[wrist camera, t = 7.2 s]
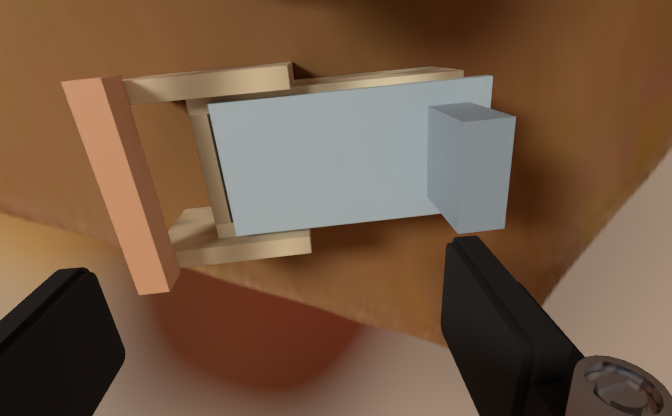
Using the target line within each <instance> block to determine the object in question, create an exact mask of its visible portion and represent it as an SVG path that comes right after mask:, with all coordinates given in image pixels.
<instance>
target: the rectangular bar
mask: <svg viewBox="0 0 672 416" xmlns="http://www.w3.org/2000/svg"><path fill="white" fill-rule="evenodd" d="M61 83H62V86H63V89H64V92H65V94H66V97H67V100H68V103H69V105H70V108H71V111H72V113H73V116H74V119H75V122H76V124H77V127H78V130H79V133H80V135H81V138H82V141H83V144H84V146H85V149H86V152H87V154H88V157H89V160H90V163H91V165H92V168H93V171H94V174H95V176H96V179H97V182H98V185H99V187H100V190H101V193H102V195H103V198H104V201H105V204H106V206H107V209H108V212H109V215H110V217H111V220H112V223H113V226H114V228H115V231H116V234H117V236H118V239H119V242H120V245H121V247H122V250H123V253H124V256H125V258H126V261H127V263H128V266H129V269H130V272H131V275H132V277H133V280H134V283H135V286H136V288H137V291H138V294H139V295H144V294H153V293H161V292H170V290H171V288H172V287H173V285H174V283H175V281H176V279H177V278H178V276H179V274H180V270H179V267H178V264H177V260H176V257H175V254H174V250H173V247H172V244H171V240H170V237H169V234H168V231H167V227H166V224H165V221H164V217H163V214H162V211H161V207H160V204H159V201H158V197H157V194H156V191H155V188H154V184H153V181H152V178H151V174H150V171H149V168H148V164H147V161H146V158H145V155H144V151H143V148H142V145H141V141H140V138H139V135H138V131H137V128H136V125H135V121H134V118H133V115H132V112H131V108H130V105H129V102H128V98H127V95H126V92H125V88H124V85H123V82H122V79H121V75H118V76H108V77H98V78H87V79H79V80H71V81H63V82H61Z"/></svg>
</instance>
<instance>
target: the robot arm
mask: <svg viewBox="0 0 672 416" xmlns="http://www.w3.org/2000/svg"><path fill="white" fill-rule="evenodd" d="M441 329H442V333H443V336H444V338H445V340H446V342H447V345H448V347H449V349H450V351H451V353H452V355H453V358H454V360H455V362H456V365H457V367H458V369H459V371H460V373H461V375H462V378H463V380H464V382H465V385H466V387H467V389H468V391H469V393H470V395H471V398H472V400H473V402H474V404H475V407H476V409H477V411H478V413H479V415H480V416H672V396H671V395H670V393H669V392H668V390H667V389H666V388H665V386H664V385H663V384H662V383H660V382H659V381H658V380H657V379H656V378H655V377H654V376H652V375H651V374H649V373H648V372H646V371H644V370H643V369H641V368H640V367H638V366H636V365H633V364H631V363H629V362H627V361H624V360H621V359H617V358H613V357H609V356H597V355H595V356H589V357H584V356H583V354H582V353H581V352H580V351H579V350H578V349H577V347H576V346H575V345H574V344H573V343H572V342H571V341H570V340H569V338H568V337H567V336H566V335H565V334H564V333H563V331H562V330H561V329H560V328H559V327H558V326H557V325H556V324H555V322H554V321H553V320H552V319H551V318H550V317H549V315H548V314H547V313H546V312H545V311H544V310H543V309H542V307H541V306H540V305H539V304H538V303H537V302H536V300H535V299H534V298H533V297H532V296H531V295H530V294H529V292H528V291H527V290H526V289H525V288H524V287H523V286H522V285H521V284H520V283H519V282H517V281H516V280H515V279H514V278H513V277H512V275H511V274H510V273H509V272H508V271H507V270H506V268H505V267H504V266H503V265H502V264H501V263H500V261H499V260H498V259H497V258H496V257H495V256H494V255H493V253H492V252H491V251H490V250H489V249H488V248H487V246H486V245H485V244H484V243H483V242H482V241H481V239H480V238H479V237H478V236H464V237H455V238H454V239H453V242H452V243H448V244H447V246H446V257H445V270H444V284H443V297H442V311H441ZM124 359H125V348H124V346H123V343H122V341H121V338H120V335H119V333H118V330H117V328H116V325H115V323H114V320H113V318H112V315H111V313H110V310H109V307H108V305H107V302H106V300H105V297H104V295H103V292H102V289H101V287H100V284H99V281H98V279H97V277H96V275H95V274H94V273H92V272H90V271H89V270H88V269H86V268H84V267H83V268H82V267H81V268H69V269H59V270H58V271H56V272H55V273H54V274H52V275H51V276H50V277H49V278H48V279H47V280H46V281H44V282H43V283H42V284H41V285H40V286H39V287H38V288H36V289H35V290H34V291H33V292H32V293H31V294H30V295H29V296H27V297H26V298H25V299H24V300H23V301H22V302H21V303H20V304H18V305H17V306H16V307H15V308H14V309H13V310H12V311H11V312H10V313H8V314H7V315H6V316H5V317H4V318H3V319H2V320H0V416H92V415H93V414H94V412H95V410H96V408H97V407H98V405H99V403H100V402H101V400H102V398H103V397H104V395H105V393H106V392H107V390H108V388H109V386H110V385H111V383H112V381H113V380H114V378H115V376H116V375H117V373H118V371H119V370H120V368H121V366H122V365H123V362H124Z"/></svg>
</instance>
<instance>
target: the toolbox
mask: <svg viewBox="0 0 672 416" xmlns="http://www.w3.org/2000/svg"><path fill="white" fill-rule="evenodd" d="M463 72H464V70H459V69H450V68H442V67H434V66H428V67H418V68H408V69H398V70H387V71H377V72H367V73H357V74H347V75H337V76H326V77H316V78H306V79H296V80H294V74H293V66H292V62H284V63H274V64H264V65H253V66H243V67H233V68H222V69H212V70H202V71H191V72H181V73H171V74H160V75H150V76H143V77H137V78H130V79H124V80H122V82H123V85H124V88H125V92H126V95H127V98H128V102H129V105H136V104H146V103H156V102H166V101H176V100H185V101H186V105H187V109H188V113H189V117H190V122H191V126H192V130H193V134H194V138H195V142H196V146H197V150H198V154H199V159H200V163H201V167H202V171H203V175H204V179H205V183H206V187H207V192H208V196H209V200H210V204H211V207H202V208H192V209H185V210H184V212H183V213H182V214H181V216H180V217H179V218H178V219H177V221H176V222H175V223H174V225H173V226H172V227H171V229H170V230H169V231H168V234H169V237H170V240H171V244H172V247H173V250H174V254H175V257H176V260H177V264H178V267H179V268H184V267H193V266H202V265H211V264H219V263H228V262H237V261H246V260H255V259H263V258H272V257H281V256H290V255H298V254H307V253H312V248H311V228H307V229H298V230H289V231H280V232H271V233H262V234H253V235H244V236H236V231H235V227H234V222H233V218H232V213H231V209H230V204H229V200H228V195H227V190H226V186H225V181H224V177H223V172H222V168H221V163H220V159H219V154H218V150H217V145H216V141H215V136H214V132H213V127H212V122H211V118H210V113H209V109H208V104H209V103H211V102H221V101H231V100H241V99H251V98H261V97H271V96H282V95H292V94H302V93H312V92H322V91H332V90H342V89H352V88H362V87H372V86H382V85H392V84H402V83H412V82H422V81H432V80H442V79H452V78H462V77H463ZM432 215H433V214H432ZM423 216H424V215H423ZM414 217H415V216H414ZM405 218H406V217H405ZM396 219H397V218H396ZM387 220H388V219H387ZM378 221H379V220H378ZM369 222H370V221H369ZM360 223H361V222H360ZM351 224H352V223H351ZM342 225H343V224H342ZM333 226H334V225H333ZM324 227H326V226H324ZM315 228H317V227H315Z"/></svg>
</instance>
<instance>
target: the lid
mask: <svg viewBox="0 0 672 416" xmlns="http://www.w3.org/2000/svg"><path fill="white" fill-rule="evenodd" d="M492 82H493V76H490V75H482V76H472V77H462V78H452V79H442V80H432V81H422V82H412V83H402V84H392V85H382V86H372V87H362V88H352V89H342V90H332V91H322V92H312V93H302V94H292V95H282V96H271V97H261V98H251V99H241V100H231V101H221V102H211V103H209V104H208V109H209V113H210V118H211V122H212V127H213V132H214V136H215V141H216V145H217V150H218V154H219V159H220V163H221V168H222V172H223V177H224V181H225V186H226V190H227V195H228V200H229V204H230V209H231V213H232V218H233V222H234V227H235V231H236V236H244V235H253V234H262V233H271V232H280V231H289V230H298V229H307V228H315V227H324V226H333V225H342V224H351V223H360V222H369V221H378V220H387V219H396V218H405V217H414V216H423V215H432V214H442V215H443V216H444V218H445V219H446V220H447V221H448V222H449V224H450V225H451V226H452V227H453V228H454V230H455V231H456V232H457V233H458V234H461V233H469V232H478V231H487V230H496V229H504V228H505V218H506V209H507V199H508V190H509V180H510V171H511V161H512V152H513V142H514V133H515V123H516V116H512V115H509V114H506V113H503V112H500V111H496V110H493V109H490V107H491V94H492Z"/></svg>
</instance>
